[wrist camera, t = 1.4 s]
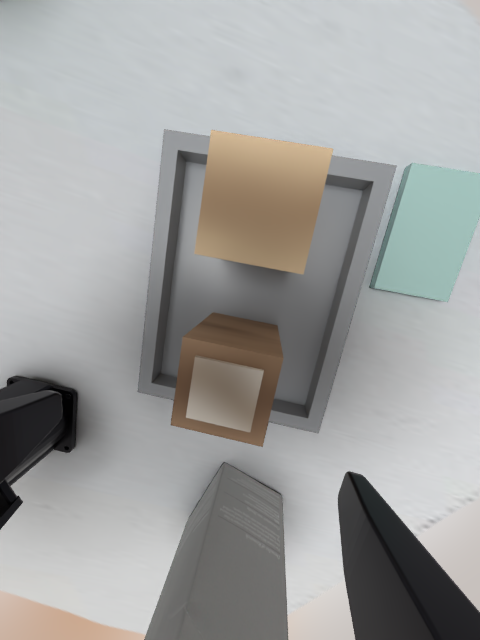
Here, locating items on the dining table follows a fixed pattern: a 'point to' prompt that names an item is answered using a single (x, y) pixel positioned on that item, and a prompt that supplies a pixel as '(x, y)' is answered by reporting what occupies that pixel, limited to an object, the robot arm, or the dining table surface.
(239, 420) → the walnut box
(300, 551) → the dining table surface
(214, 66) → the dining table surface
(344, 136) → the dining table surface
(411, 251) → the teal pad
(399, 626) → the robot arm
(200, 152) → the tray
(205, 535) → the skincare box
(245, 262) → the oak box
